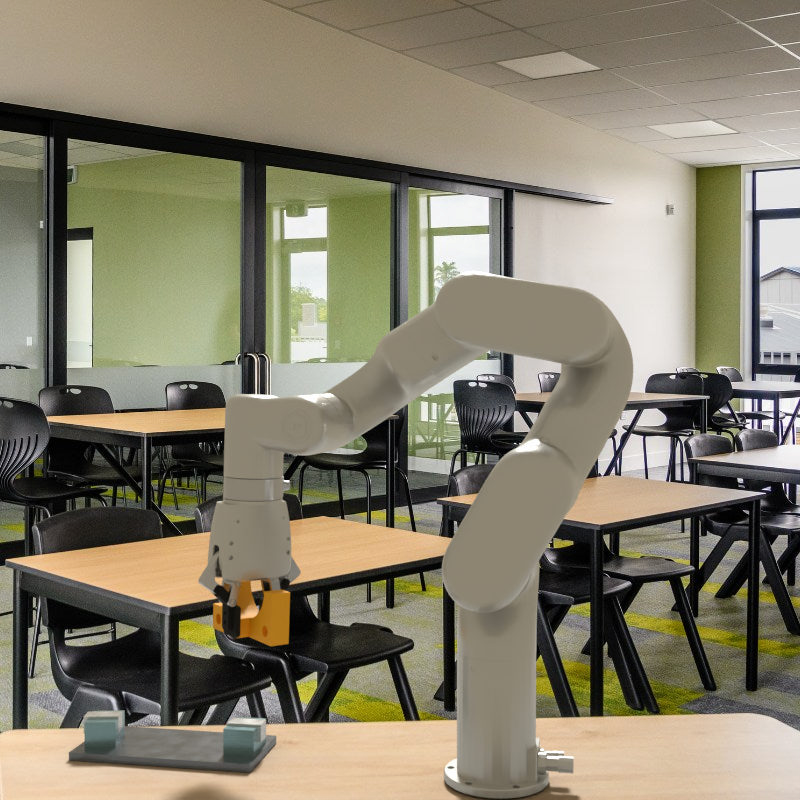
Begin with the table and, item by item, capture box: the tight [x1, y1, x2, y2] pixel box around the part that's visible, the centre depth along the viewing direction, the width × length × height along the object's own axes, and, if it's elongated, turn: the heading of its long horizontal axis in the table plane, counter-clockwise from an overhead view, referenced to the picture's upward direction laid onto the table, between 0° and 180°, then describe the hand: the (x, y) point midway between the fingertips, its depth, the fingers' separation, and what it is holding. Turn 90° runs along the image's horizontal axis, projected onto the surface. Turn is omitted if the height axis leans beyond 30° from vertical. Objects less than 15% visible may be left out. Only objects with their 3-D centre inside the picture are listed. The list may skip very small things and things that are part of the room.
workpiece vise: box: [68, 709, 277, 774], centre depth 140 cm, size 24×11×4 cm, turn 80°
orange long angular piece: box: [212, 581, 291, 647], centre depth 138 cm, size 12×4×6 cm, turn 37°
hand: (249, 631), depth 138 cm, fingers closed on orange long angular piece, 4 cm apart
